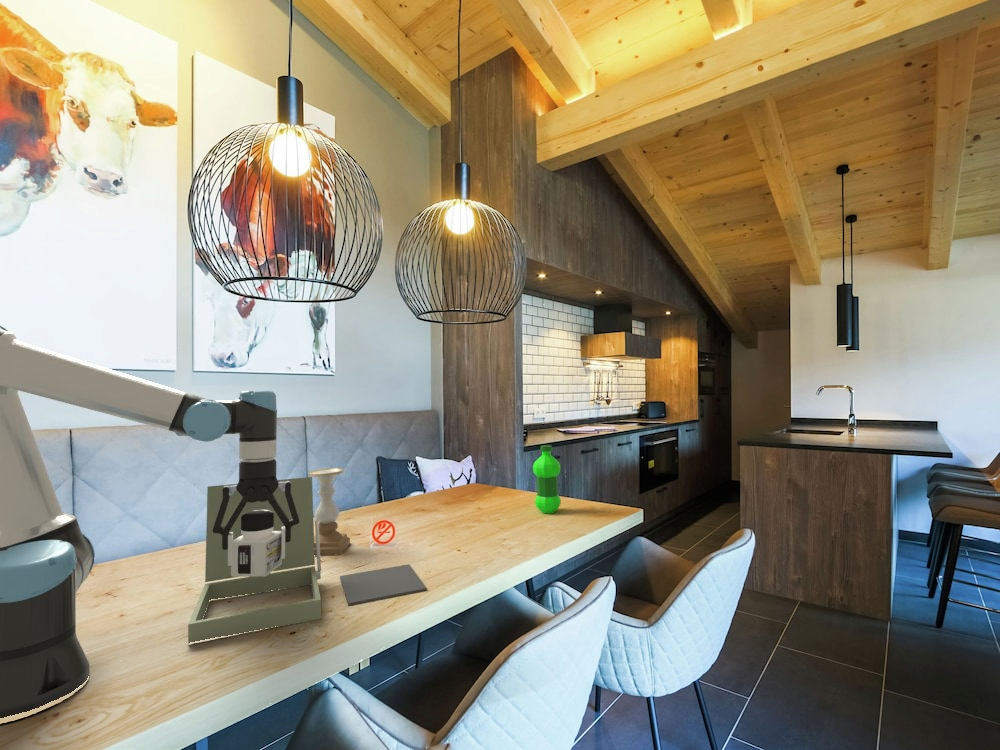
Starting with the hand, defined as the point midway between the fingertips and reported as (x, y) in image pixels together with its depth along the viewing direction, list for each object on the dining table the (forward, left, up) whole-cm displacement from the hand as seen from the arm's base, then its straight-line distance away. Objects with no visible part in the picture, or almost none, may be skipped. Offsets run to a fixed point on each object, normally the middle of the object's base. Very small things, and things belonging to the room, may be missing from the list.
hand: (257, 560), depth 109 cm
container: (0, 0, -2) cm, 2 cm away
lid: (+14, 0, +4) cm, 15 cm away
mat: (+2, -27, -11) cm, 30 cm away
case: (+2, -1, -11) cm, 11 cm away
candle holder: (+37, -17, -11) cm, 42 cm away
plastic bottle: (+43, -97, -11) cm, 107 cm away
